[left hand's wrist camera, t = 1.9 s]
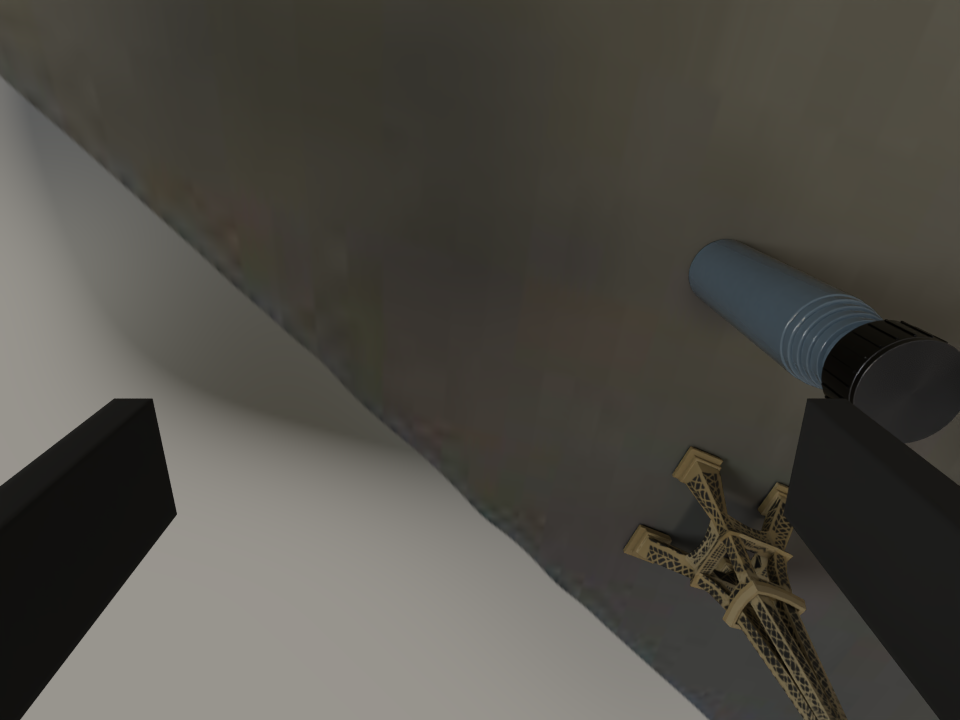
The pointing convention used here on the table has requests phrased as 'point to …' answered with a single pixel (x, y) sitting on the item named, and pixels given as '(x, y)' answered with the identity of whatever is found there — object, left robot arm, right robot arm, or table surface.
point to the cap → (896, 377)
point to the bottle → (776, 305)
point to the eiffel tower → (748, 582)
